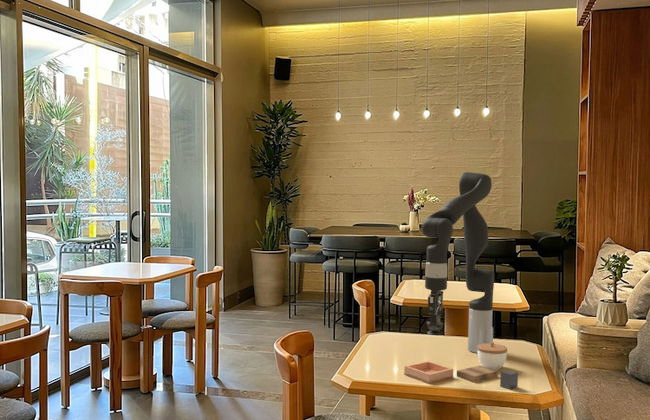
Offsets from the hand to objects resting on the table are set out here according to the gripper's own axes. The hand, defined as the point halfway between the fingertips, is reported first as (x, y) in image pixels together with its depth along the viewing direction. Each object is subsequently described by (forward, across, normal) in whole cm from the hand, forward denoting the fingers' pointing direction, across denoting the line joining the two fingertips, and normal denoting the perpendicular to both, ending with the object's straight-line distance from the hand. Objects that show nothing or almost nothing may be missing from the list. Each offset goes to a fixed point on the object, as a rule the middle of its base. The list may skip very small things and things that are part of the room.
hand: (435, 322), depth 222 cm
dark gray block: (+19, 0, -25) cm, 32 cm away
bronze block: (+20, +7, -14) cm, 25 cm away
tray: (+19, 0, +2) cm, 19 cm away
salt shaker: (+4, 0, 0) cm, 4 cm away
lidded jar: (+20, +20, -17) cm, 33 cm away
